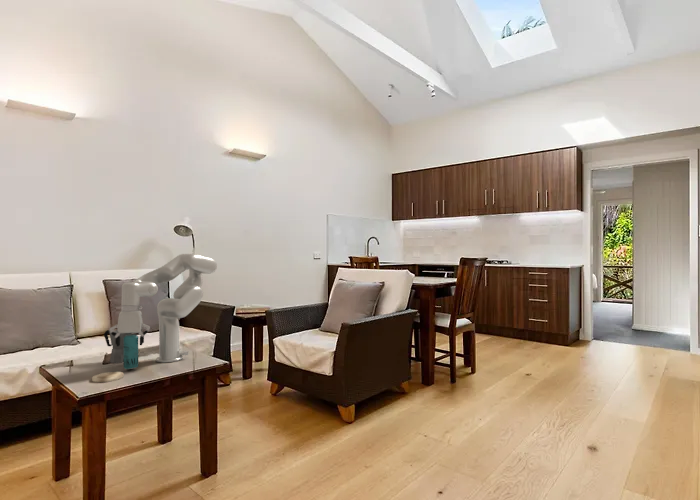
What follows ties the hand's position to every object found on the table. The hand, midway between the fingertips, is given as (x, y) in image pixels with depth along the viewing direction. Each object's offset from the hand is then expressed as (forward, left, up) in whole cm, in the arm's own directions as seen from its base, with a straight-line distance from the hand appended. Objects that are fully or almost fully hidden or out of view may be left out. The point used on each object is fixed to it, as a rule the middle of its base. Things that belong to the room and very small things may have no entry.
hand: (129, 345), depth 194 cm
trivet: (+7, +11, -12) cm, 17 cm away
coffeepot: (+10, -21, -12) cm, 26 cm away
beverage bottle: (0, 0, -12) cm, 12 cm away
